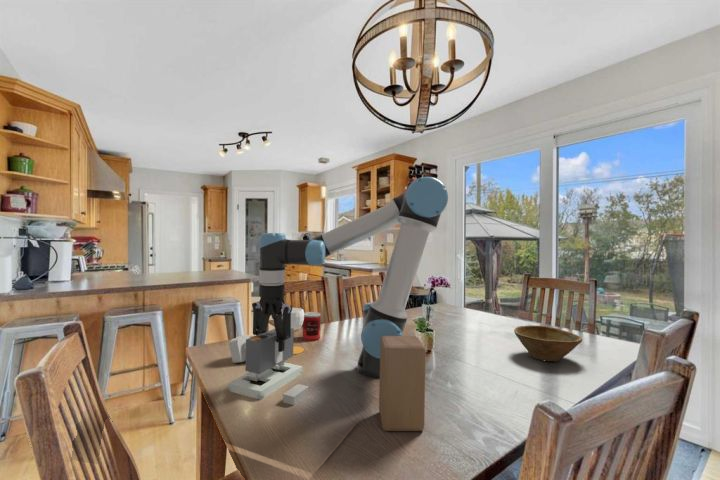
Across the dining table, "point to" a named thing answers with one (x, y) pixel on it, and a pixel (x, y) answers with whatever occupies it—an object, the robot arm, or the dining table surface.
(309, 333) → the canned food
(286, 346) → the grey slotted block
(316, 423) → the dining table surface
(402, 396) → the wooden block
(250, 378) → the keyhole board
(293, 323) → the cup
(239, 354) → the wall hook
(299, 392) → the foam block
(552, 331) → the bowl
